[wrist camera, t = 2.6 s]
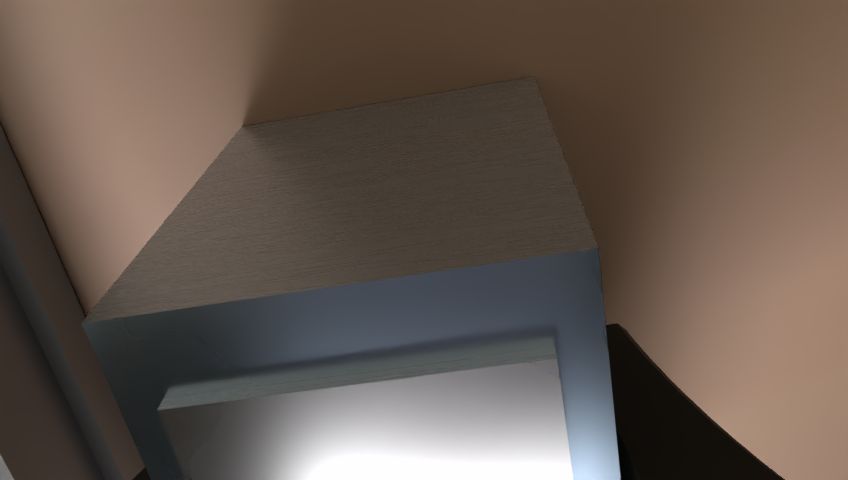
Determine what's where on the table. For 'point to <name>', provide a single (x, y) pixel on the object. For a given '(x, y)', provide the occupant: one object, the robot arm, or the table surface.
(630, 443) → the robot arm
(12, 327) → the tray
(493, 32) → the table surface
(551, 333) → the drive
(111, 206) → the table surface
